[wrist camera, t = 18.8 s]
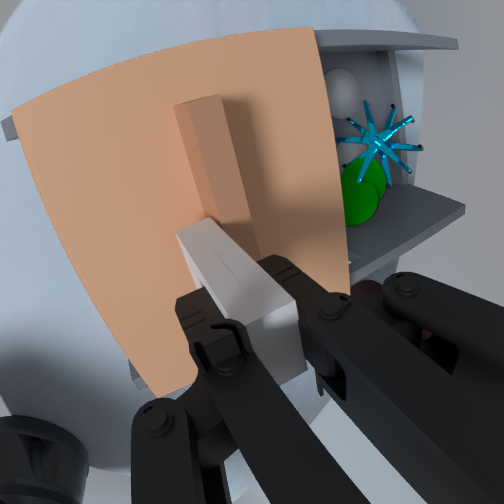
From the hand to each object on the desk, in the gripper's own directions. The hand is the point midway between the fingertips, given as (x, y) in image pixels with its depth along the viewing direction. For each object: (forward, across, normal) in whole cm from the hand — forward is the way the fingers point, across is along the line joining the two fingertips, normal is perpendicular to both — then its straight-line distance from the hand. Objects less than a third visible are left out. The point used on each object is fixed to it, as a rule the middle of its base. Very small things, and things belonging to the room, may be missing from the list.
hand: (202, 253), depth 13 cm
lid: (+3, +1, 0) cm, 3 cm away
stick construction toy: (+11, +19, -4) cm, 22 cm away
